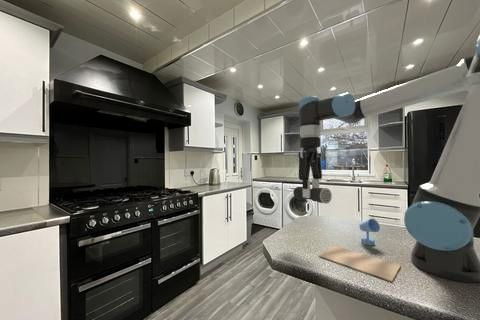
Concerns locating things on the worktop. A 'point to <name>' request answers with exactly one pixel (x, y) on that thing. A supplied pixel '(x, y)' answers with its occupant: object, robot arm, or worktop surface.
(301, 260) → the worktop surface
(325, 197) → the flashlight
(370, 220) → the spotlight
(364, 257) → the mat
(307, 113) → the robot arm
